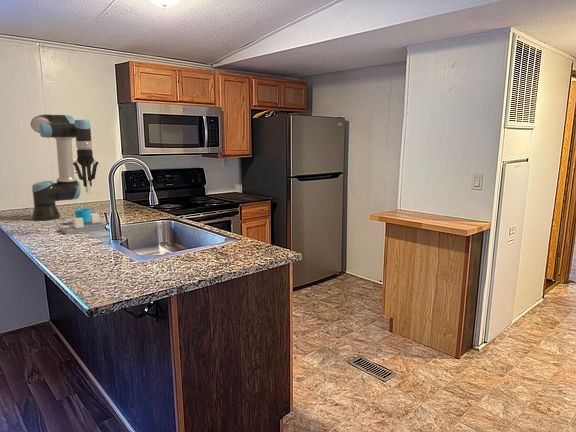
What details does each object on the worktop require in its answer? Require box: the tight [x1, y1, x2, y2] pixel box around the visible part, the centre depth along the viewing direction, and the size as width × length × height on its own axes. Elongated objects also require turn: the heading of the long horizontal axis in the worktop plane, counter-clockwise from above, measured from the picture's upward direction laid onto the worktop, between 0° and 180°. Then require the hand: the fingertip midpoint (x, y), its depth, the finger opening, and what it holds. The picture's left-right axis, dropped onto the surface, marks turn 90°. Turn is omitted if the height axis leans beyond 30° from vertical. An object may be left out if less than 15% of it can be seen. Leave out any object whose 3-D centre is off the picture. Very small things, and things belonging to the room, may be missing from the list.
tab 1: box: [72, 217, 84, 228], centre depth 221 cm, size 4×4×5 cm
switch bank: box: [57, 220, 107, 236], centre depth 229 cm, size 14×26×2 cm, turn 134°
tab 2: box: [89, 212, 101, 223], centre depth 235 cm, size 4×4×5 cm
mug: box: [74, 208, 97, 223], centre depth 245 cm, size 12×8×8 cm
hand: (88, 192), depth 223 cm, fingers closed
